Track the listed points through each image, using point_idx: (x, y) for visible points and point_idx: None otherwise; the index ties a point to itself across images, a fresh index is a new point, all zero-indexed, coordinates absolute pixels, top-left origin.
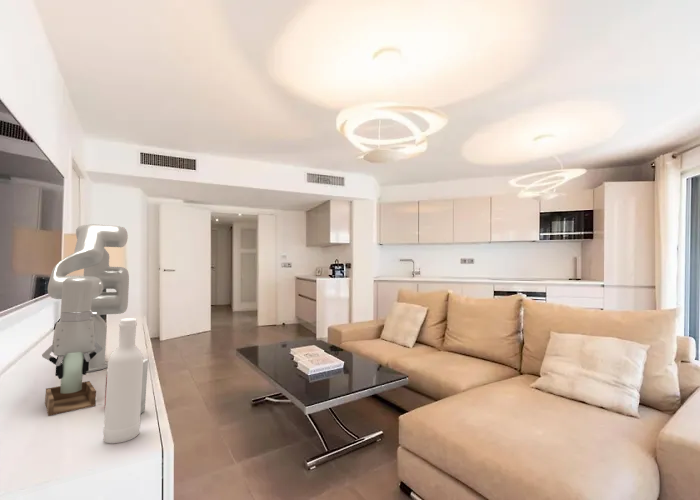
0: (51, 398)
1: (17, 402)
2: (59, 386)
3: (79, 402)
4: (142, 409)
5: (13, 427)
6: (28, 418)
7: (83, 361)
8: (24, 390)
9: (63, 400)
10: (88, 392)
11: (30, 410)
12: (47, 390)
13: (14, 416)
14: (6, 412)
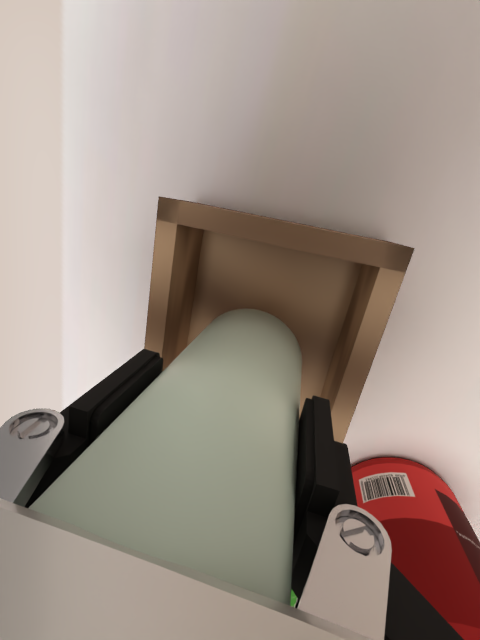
0: None
1: (106, 51)
2: (226, 218)
3: None
4: None
5: (79, 386)
6: (119, 343)
7: (301, 517)
8: None
9: (254, 260)
10: (340, 358)
11: (135, 252)
12: (157, 250)
13: (86, 276)
14: (65, 194)
